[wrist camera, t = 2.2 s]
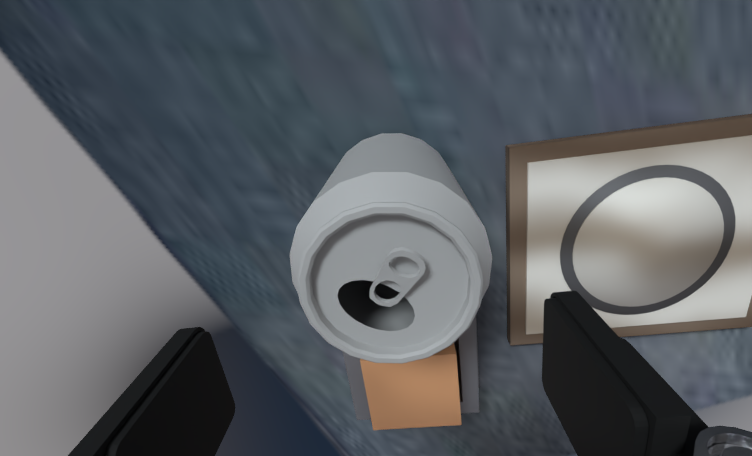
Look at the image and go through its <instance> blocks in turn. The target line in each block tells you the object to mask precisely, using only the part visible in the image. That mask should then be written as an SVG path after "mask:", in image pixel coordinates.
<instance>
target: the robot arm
mask: <svg viewBox="0 0 752 456" xmlns="http://www.w3.org/2000/svg"><path fill="white" fill-rule="evenodd" d="M542 382H543V387H544V390H545V392H546V395H547V396H548V398H549V400H550V402H551V404H552V406H553V408H554V410H555V412H556V414H557V416H558V418H559V420H560V422H561V424H562V426H563V428H564V430H565V432H566V434H567V436H568V438H569V440H570V442H571V444H572V445H573V447H574V449H575V451H576V453H577V455H578V456H752V432H749V431H745V430H742V429H738V428H735V427H726V426H715V427H708V426H707V425H706V424H705V423H704V422H703V421H702V420H701V419H700V418H699V417H698V415H696V413H695V412H694V411H693V410H692V409H691V408H690V407H689V406H688V405H687V404H686V403H685V402H684V401H683V400H682V398H681V397H680V396H679V395H678V394H677V393H676V392H675V391H674V390H673V389H672V388H671V387H670V386H669V385H668V384H667V382H666V381H665V380H664V379H663V378H662V377H661V376H660V375H659V374H658V373H657V372H656V371H655V370H654V369H653V368H652V367H651V365H650V364H649V363H648V362H647V361H646V360H645V359H644V358H643V357H642V356H641V355H640V354H639V353H638V352H637V351H636V349H635V348H634V347H633V346H632V345H631V344H630V343H629V342H627V341H626V340H625V339H622V338H620V337H619V336H618V335H617V334H616V333H615V332H614V331H613V330H612V329H611V328H610V327H609V326H608V324H607V323H606V322H605V321H604V320H603V319H602V318H601V317H600V316H599V315H598V314H597V312H596V311H595V310H594V309H593V308H592V307H591V306H590V305H589V304H588V303H587V302H586V301H585V299H584V298H583V297H582V296H581V295H580V294H579V293H578V292H577V291H564V292H553V293H552V294H551V296H550V298H549V299H545V301H544V321H543V363H542ZM234 413H235V403H234V400H233V397H232V394H231V391H230V388H229V385H228V383H227V380H226V377H225V374H224V371H223V368H222V365H221V363H220V360H219V357H218V354H217V351H216V348H215V345H214V343H213V340H212V337H211V335H210V333H209V332H205V330H204V329H203V328H201V327H195V328H186V329H180V330H178V331H177V332H176V333H175V334H174V335H173V337H172V338H171V339H170V340H169V341H168V342H167V343H166V345H165V346H164V347H163V348H162V349H161V350H160V351H159V353H158V354H157V355H156V356H155V357H154V358H153V359H152V361H151V362H150V363H149V364H148V365H147V366H146V367H145V368H144V370H143V371H142V372H141V373H140V374H139V375H138V376H137V378H136V379H135V380H134V381H133V382H132V383H131V384H130V386H129V387H128V388H127V389H126V390H125V391H124V393H123V394H122V395H121V396H120V397H119V398H118V399H117V400H116V402H115V403H114V404H113V405H112V406H111V407H110V408H109V410H108V411H107V412H106V413H105V414H104V415H103V417H102V418H101V419H100V420H99V421H98V422H97V424H95V425H94V427H93V428H92V429H91V430H90V431H89V432H88V434H87V435H86V436H85V437H84V438H83V439H82V440H81V441H80V443H79V444H78V445H77V446H76V447H75V448H74V449H73V451H72V452H71V453H70V454H69V455H68V456H215V454H216V452H217V450H218V448H219V446H220V444H221V442H222V440H223V437H224V435H225V433H226V431H227V429H228V427H229V425H230V423H231V421H232V419H233V416H234Z"/></svg>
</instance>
